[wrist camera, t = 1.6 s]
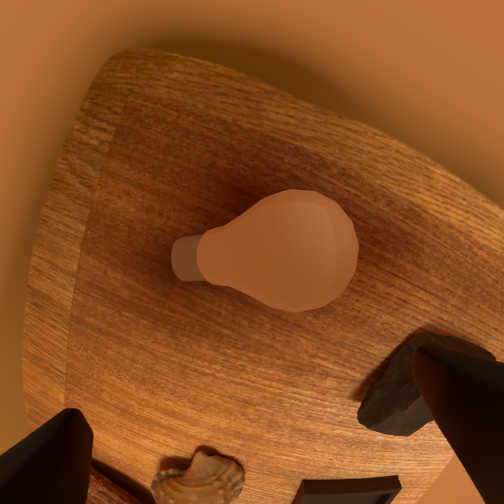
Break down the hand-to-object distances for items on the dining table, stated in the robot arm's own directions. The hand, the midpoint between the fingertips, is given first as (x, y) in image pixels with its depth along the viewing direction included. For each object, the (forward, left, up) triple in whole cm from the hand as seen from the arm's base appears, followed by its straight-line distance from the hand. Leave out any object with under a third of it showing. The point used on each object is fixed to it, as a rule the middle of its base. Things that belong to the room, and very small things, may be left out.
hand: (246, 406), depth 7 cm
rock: (-13, +10, -14) cm, 21 cm away
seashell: (+7, +22, -14) cm, 27 cm away
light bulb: (0, -2, -14) cm, 14 cm away
